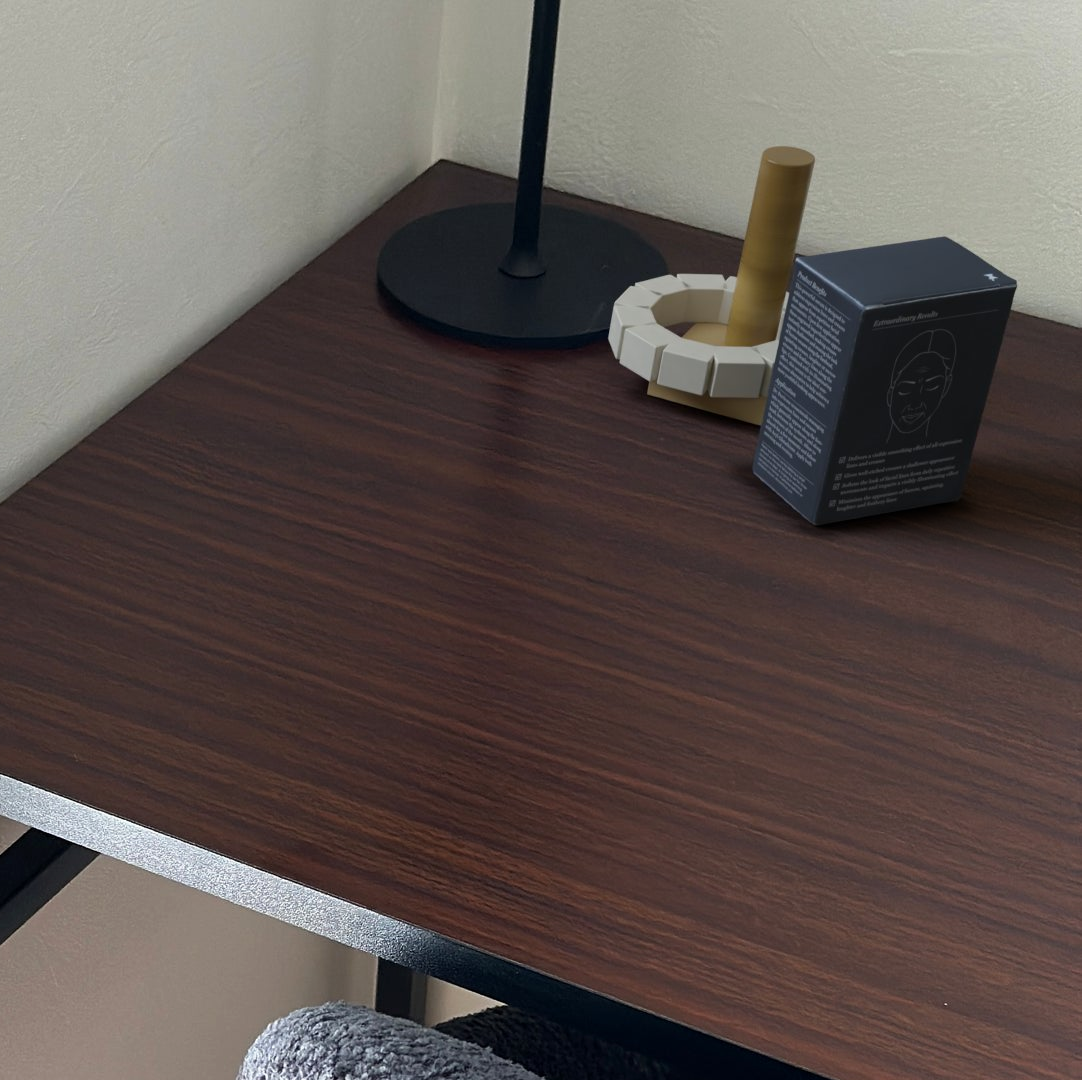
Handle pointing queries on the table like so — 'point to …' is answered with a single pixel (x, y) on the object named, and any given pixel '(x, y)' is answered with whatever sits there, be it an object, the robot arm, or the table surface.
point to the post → (757, 275)
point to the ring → (681, 359)
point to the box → (881, 378)
